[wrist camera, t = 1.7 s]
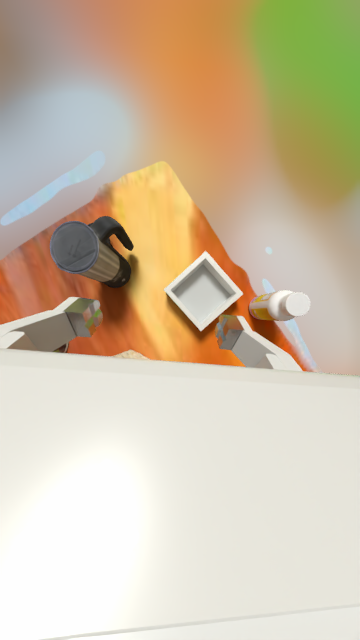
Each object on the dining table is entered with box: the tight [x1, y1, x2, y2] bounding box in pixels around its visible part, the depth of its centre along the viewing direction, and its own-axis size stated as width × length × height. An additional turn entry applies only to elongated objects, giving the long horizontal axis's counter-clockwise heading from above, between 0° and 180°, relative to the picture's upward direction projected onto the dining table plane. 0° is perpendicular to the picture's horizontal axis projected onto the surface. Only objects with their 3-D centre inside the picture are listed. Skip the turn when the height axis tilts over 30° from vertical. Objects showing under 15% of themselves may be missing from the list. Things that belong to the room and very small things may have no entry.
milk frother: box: [50, 216, 133, 288], centre depth 31 cm, size 14×16×15 cm
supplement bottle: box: [249, 290, 310, 321], centre depth 32 cm, size 7×7×13 cm
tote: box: [164, 251, 243, 331], centre depth 36 cm, size 14×14×5 cm
